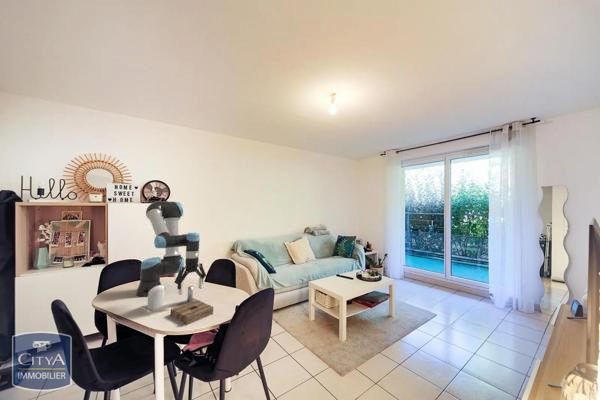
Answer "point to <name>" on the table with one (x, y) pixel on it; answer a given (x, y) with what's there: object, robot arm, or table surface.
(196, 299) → the mat
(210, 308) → the socket block
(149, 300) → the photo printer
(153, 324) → the table surface
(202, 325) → the table surface
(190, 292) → the pin
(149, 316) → the table surface
